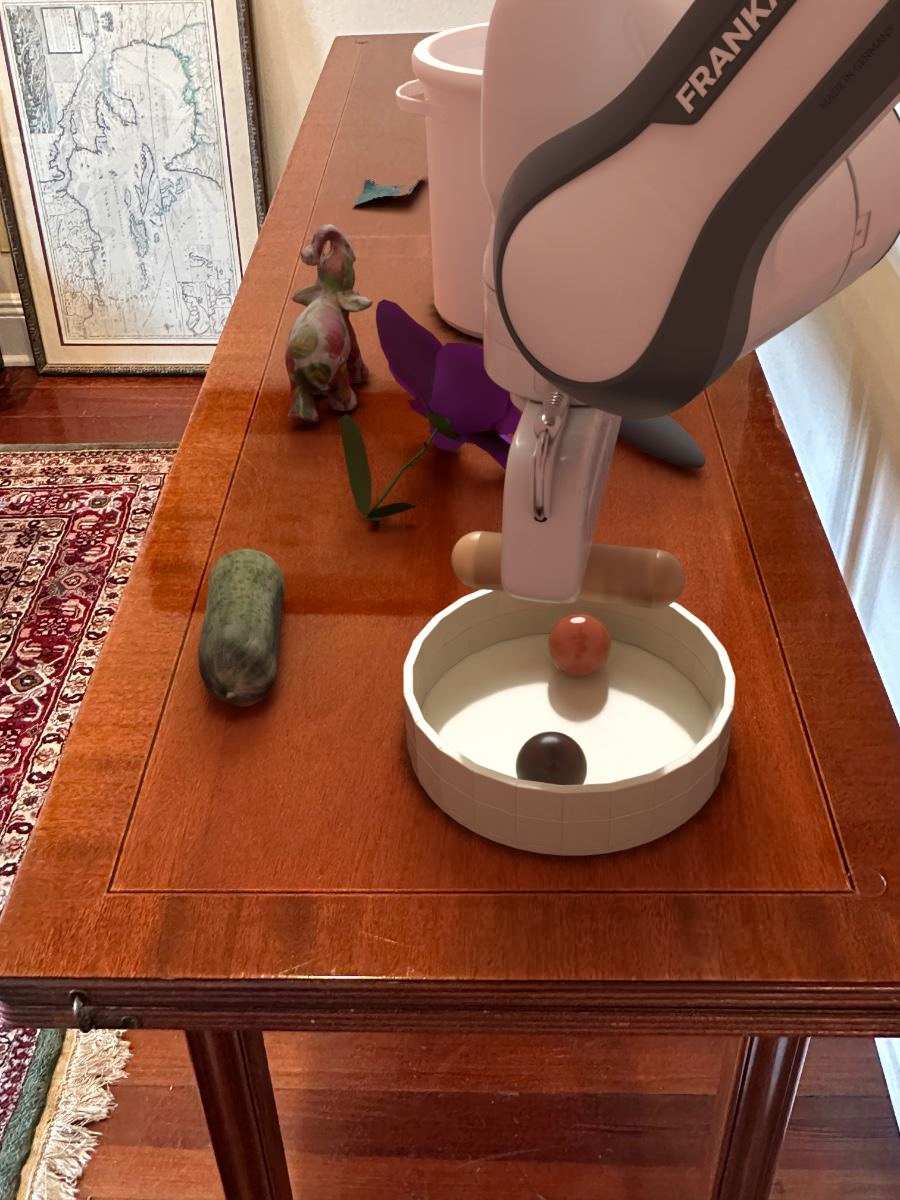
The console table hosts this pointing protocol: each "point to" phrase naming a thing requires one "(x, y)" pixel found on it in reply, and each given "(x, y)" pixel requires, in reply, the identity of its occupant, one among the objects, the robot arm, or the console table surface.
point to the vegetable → (241, 627)
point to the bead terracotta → (579, 644)
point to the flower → (432, 401)
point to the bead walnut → (552, 760)
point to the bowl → (567, 722)
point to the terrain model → (378, 191)
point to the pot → (453, 167)
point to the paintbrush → (662, 440)
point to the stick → (607, 575)
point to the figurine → (326, 330)
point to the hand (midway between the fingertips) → (567, 567)
